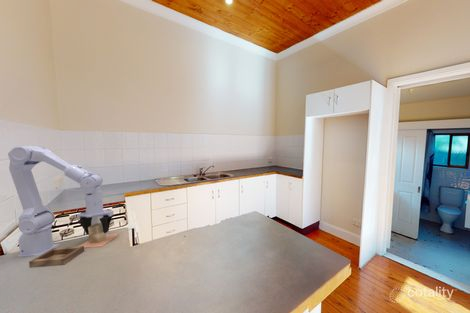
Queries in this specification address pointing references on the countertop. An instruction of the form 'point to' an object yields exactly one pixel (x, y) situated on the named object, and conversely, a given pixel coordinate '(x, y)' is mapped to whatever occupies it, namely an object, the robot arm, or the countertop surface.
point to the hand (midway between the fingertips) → (97, 232)
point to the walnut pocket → (56, 256)
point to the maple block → (96, 233)
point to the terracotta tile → (100, 244)
